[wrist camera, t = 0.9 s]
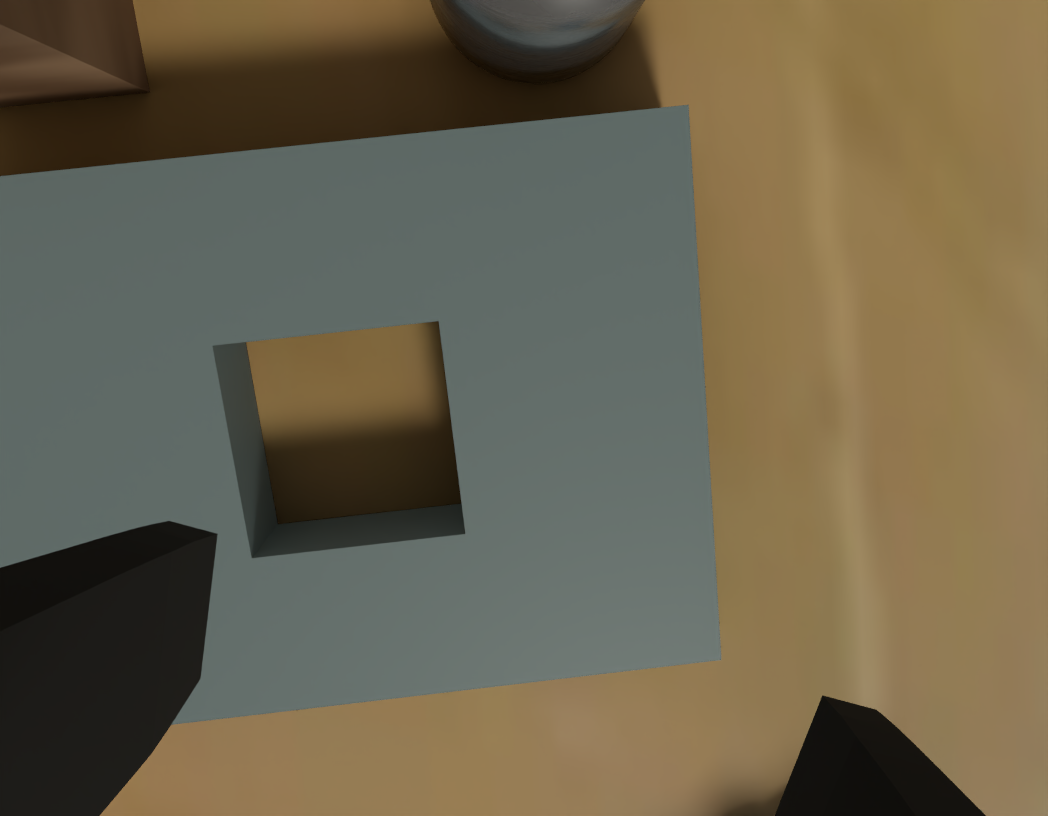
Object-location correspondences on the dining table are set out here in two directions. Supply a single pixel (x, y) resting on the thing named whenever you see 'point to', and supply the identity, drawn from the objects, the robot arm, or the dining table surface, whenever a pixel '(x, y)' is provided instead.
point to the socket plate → (472, 383)
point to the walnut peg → (68, 51)
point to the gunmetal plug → (535, 34)
